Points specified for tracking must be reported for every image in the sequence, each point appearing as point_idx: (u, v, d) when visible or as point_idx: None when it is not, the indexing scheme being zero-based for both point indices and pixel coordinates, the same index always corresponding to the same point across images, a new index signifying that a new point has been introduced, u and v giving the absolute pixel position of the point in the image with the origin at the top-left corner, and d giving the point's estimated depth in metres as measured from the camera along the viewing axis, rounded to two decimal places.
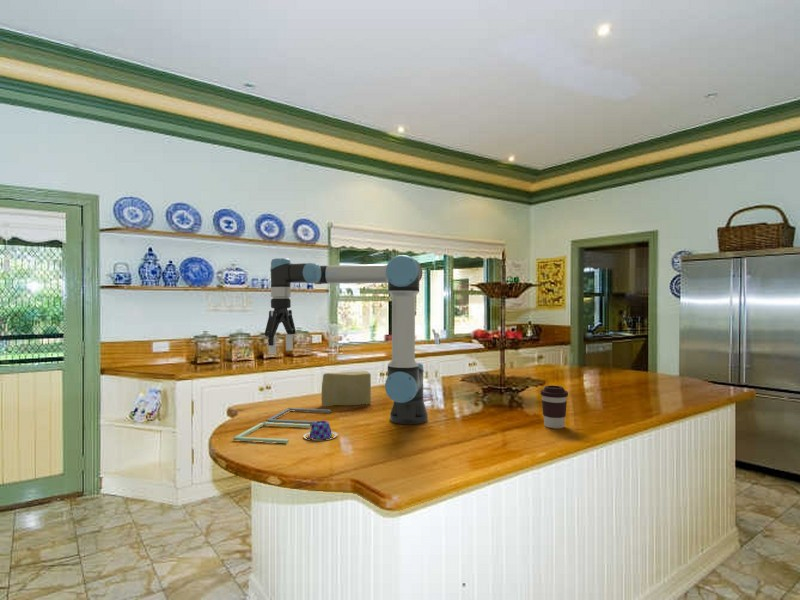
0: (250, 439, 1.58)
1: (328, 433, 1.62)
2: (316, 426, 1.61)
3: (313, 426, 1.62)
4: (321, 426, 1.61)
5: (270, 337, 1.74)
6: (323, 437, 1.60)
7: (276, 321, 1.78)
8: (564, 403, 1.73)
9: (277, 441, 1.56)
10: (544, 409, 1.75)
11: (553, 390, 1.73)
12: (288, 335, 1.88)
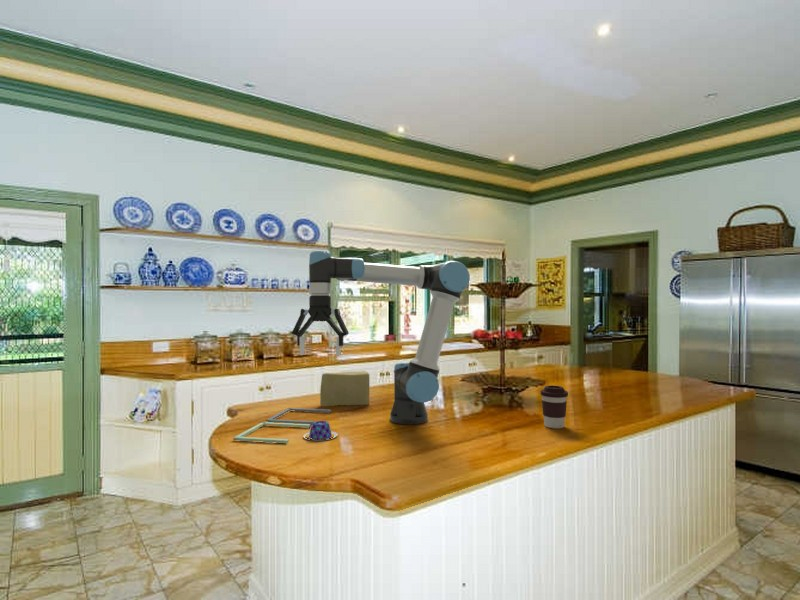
0: (250, 439, 1.58)
1: (330, 432, 1.63)
2: (318, 426, 1.61)
3: (315, 426, 1.62)
4: (323, 426, 1.62)
5: None
6: (326, 437, 1.61)
7: None
8: (564, 403, 1.73)
9: (277, 441, 1.56)
10: (544, 409, 1.75)
11: (553, 390, 1.73)
12: None
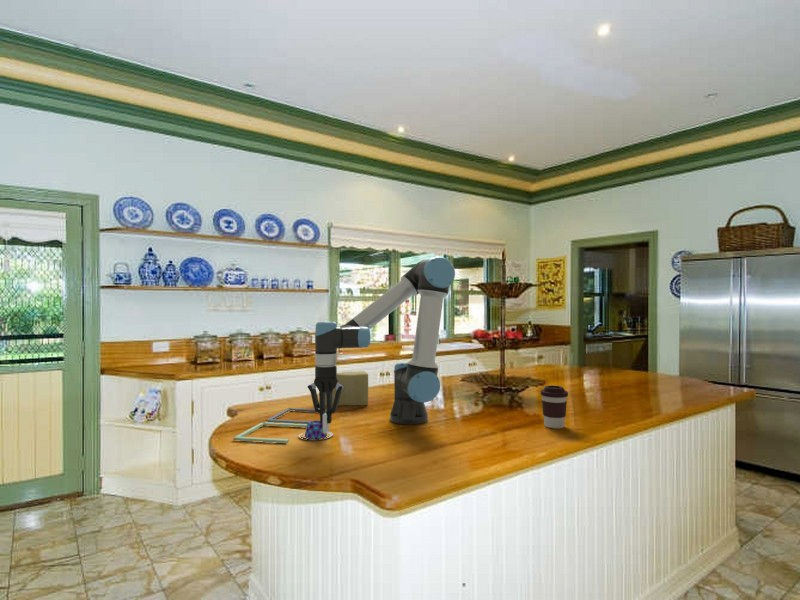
0: (250, 439, 1.58)
1: None
2: (316, 426, 1.61)
3: (312, 426, 1.61)
4: (321, 425, 1.62)
5: None
6: (324, 436, 1.62)
7: None
8: (564, 403, 1.73)
9: (277, 441, 1.56)
10: (544, 409, 1.75)
11: (553, 390, 1.73)
12: None
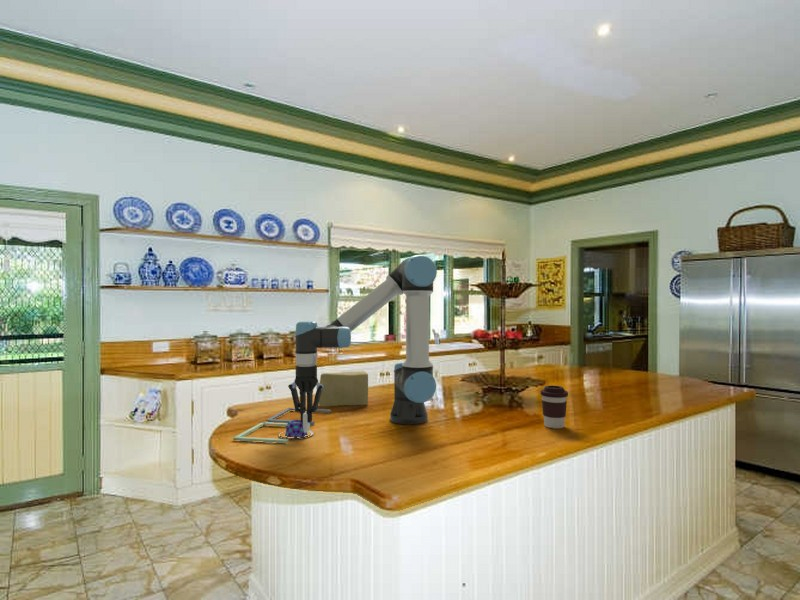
0: (250, 439, 1.58)
1: None
2: (296, 425, 1.63)
3: (292, 425, 1.63)
4: (301, 424, 1.64)
5: None
6: (304, 435, 1.63)
7: None
8: (564, 403, 1.73)
9: (277, 441, 1.56)
10: (544, 409, 1.75)
11: (553, 390, 1.73)
12: None
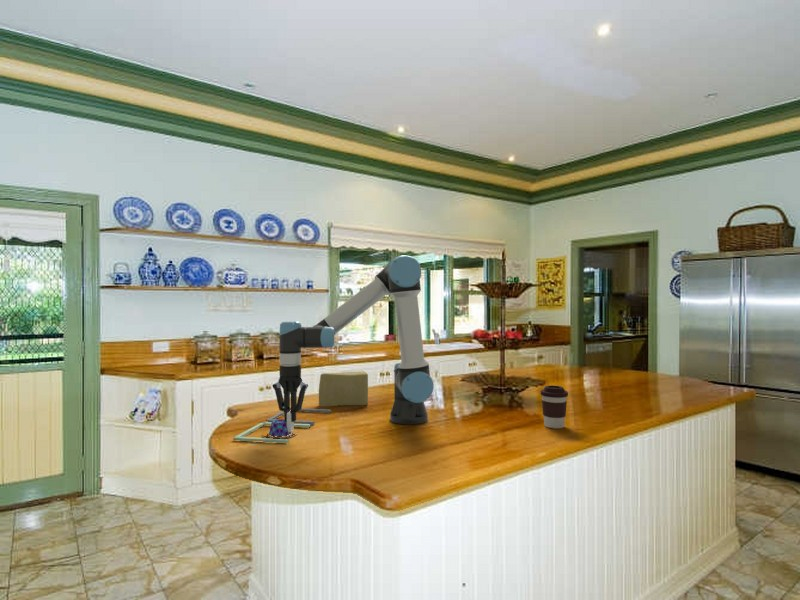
0: (250, 439, 1.58)
1: None
2: (280, 424, 1.64)
3: (276, 425, 1.64)
4: (284, 424, 1.64)
5: None
6: (287, 434, 1.64)
7: None
8: (564, 403, 1.73)
9: (277, 441, 1.56)
10: (544, 409, 1.75)
11: (553, 390, 1.73)
12: None
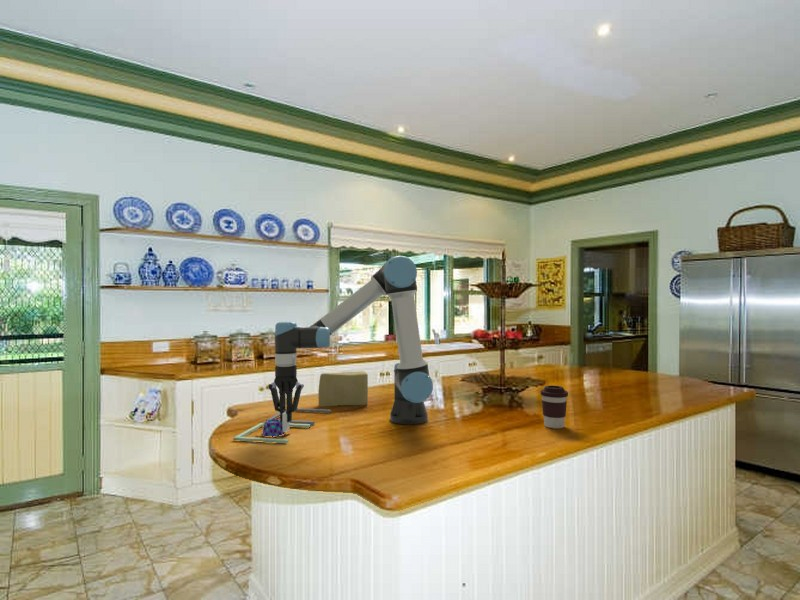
0: (250, 439, 1.58)
1: None
2: (273, 424, 1.64)
3: (269, 425, 1.64)
4: (278, 424, 1.65)
5: None
6: (281, 434, 1.65)
7: None
8: (564, 403, 1.73)
9: (277, 441, 1.56)
10: (544, 409, 1.75)
11: (553, 390, 1.73)
12: None
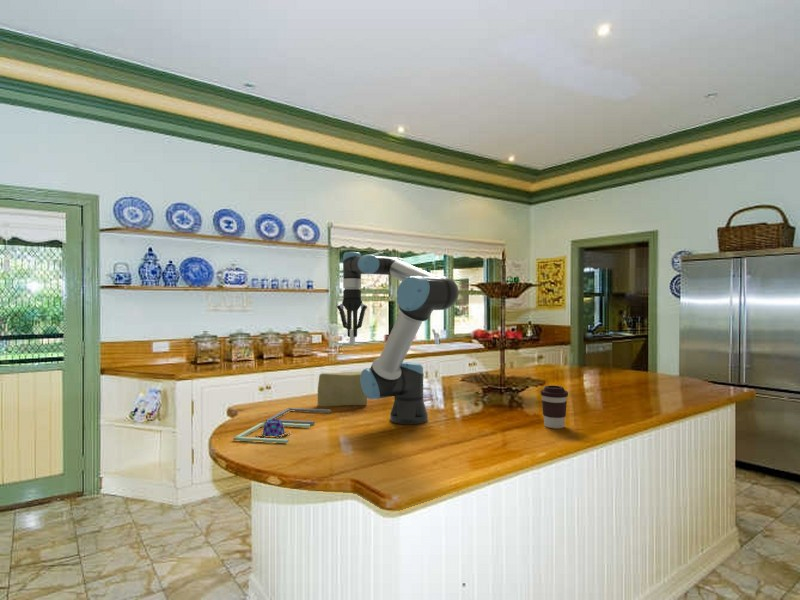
0: (250, 439, 1.58)
1: (283, 429, 1.67)
2: (273, 424, 1.64)
3: (269, 425, 1.64)
4: (278, 423, 1.65)
5: None
6: (281, 434, 1.65)
7: None
8: (564, 403, 1.73)
9: (277, 441, 1.56)
10: (544, 409, 1.75)
11: (553, 390, 1.73)
12: None
